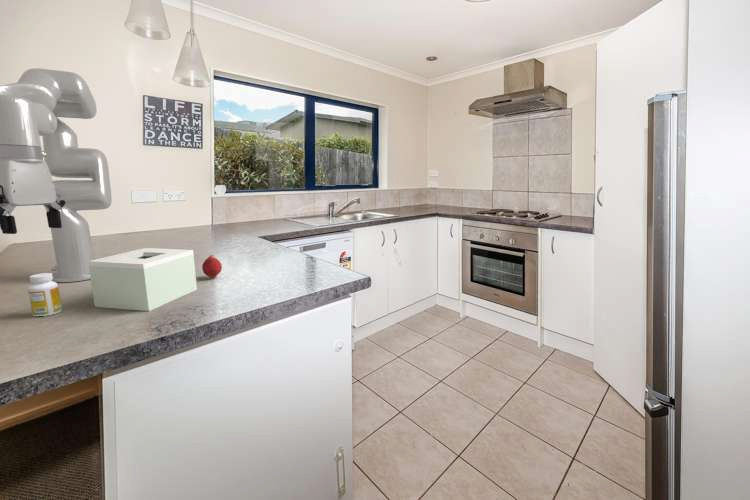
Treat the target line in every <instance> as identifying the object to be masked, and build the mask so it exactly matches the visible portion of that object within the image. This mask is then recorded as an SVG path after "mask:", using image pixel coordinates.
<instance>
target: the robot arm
mask: <svg viewBox="0 0 750 500" xmlns="http://www.w3.org/2000/svg"><path fill="white" fill-rule="evenodd" d="M88 85H89V84H87V82H86V81H85V80H84V78H83V77H81V76H80V75H79V74H78V73H77V72H76V73H75V72H72V71H63V70H55V69H47V68H37V67H35V68H29V69H27V70H25V71H24V72H23V73H22V74H21V76H20V77H19V79H18V81H17V82H15V83H7V84H4V85H0V230H1V231H2V234H3V235H4V234H5V235H7V234H8V235H16V234H17V233H18V229H17V224H16V218H15V216H14V215H11V214H12V212H13V211H14V210H15V208H17V207H26V206H27V207H28V206H29V207H30V206H43V207H44V209H45V211H46V220H47V225H48V228H50V234H51V238H52V245H53V250H54V256H55V262H56V264H55V265H54V266H52V267H51V268H50V271H52V272H56V274H55V275H54V276H53V279H52V281H53V282H56V283H74V282H76V283H77V282H81V281H88V280H91V278H90V271H89V265H88V261H91V260H95V259H94V258H95V256H94V250H93V246H92V245H93V244H92V238H91V232H90V225H89V223H88V221H87V220H86V219H85V217H83V216H82V215H81V214H79V213H78V211H96V210H107V209H108V208H110V207H111V205H112V188H111V178H110V171H109V164H108V160H107V157H106V155H105V153H104V152H103V151H101V150H100V149H98V148H97V149H96V148H88V147H87V148H85V147H83V148H82V147H79V145H78V135H77V133H76V132H75V131H74V130H73V129H72V128H71V127H70V126H69V125H68V124H66V123H65V122H64V121H62V119H60V118H65V119H67V118H68V119H82V120H90V119H94V118H95V116H96V115H97V104H96V100H95V98H94V96H93V94H92V91H91V89H90V87H89V86H88ZM40 136H41V137H42V144H41V137H40ZM42 145H43V146H42ZM42 147H43V150H42ZM53 177H55V178H62V179H59V180H57V179H55V180H53ZM63 178H64V179H63ZM65 178H66V179H65ZM67 179H68V180H67ZM73 179H74V180H73ZM76 179H77V180H76ZM78 179H81V180H78ZM82 179H89V180H82ZM90 179H91V180H90Z"/></svg>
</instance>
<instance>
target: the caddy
mask: <svg viewBox="0 0 750 500" xmlns="http://www.w3.org/2000/svg"><path fill="white" fill-rule="evenodd" d="M194 255H195V253H194V250H193V249H180V248H179V249H176V248H159V247H158V248H155V247H154V248H153V247H144V248H143V247H142V248H139V249H134V250H131V251H126V252H122V253H119V254H113V255H109V256H105V257H104V256H103V257H100V258H96V259H94V260H91V261H88V265H89V271H90V278H91V279H90V282H91V283H90V284H91V290H92V296H93V302H94V307H95V308H107V309H117V310H118V309H119V310H132V311H142V312H150V311H152V310H155V309H157V308H160V307H162V306H164V305H166V304H168V303H171V302H173V301H175V300H177V299H179V298H181V297H182V298H183V296H186V295H188V294H190V293H193V292H195V291H197V290H198V286H197V285H198V284H197V276H196V275H197V274H196V266H195V265H196V264H195V256H194Z"/></svg>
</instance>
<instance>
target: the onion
mask: <svg viewBox="0 0 750 500" xmlns="http://www.w3.org/2000/svg"><path fill="white" fill-rule="evenodd" d="M201 267H202V272H203V274H204V275H205V276H207V277H209V278H211V279H215V278H217V276H218V275H219V274H220V273H221V272H222V269H223V266H222V263H221V261H220V260H219V259H217V258H216V257H214V254H209V255H208V258H206V259H205V260H204V262H203V263H202V265H201Z"/></svg>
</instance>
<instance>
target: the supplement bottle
mask: <svg viewBox="0 0 750 500" xmlns="http://www.w3.org/2000/svg"><path fill="white" fill-rule="evenodd" d="M53 277H54V276H53V273H51V272H43V273H37V274H33V275H29V281H30V283H31V284H30V285H29V286H28V287H27V292H28V297H29V302H30V308H31V312H32V316H33V317H35V316H45V317H48V316H47V315H51V316H53V315H52V314H54V315H57V314H60V313H61V312H62V311H63V306H62V305H63V304H62V300H61V296H60V290H59V284H58V282H55V281H53ZM56 313H57V314H56Z"/></svg>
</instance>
